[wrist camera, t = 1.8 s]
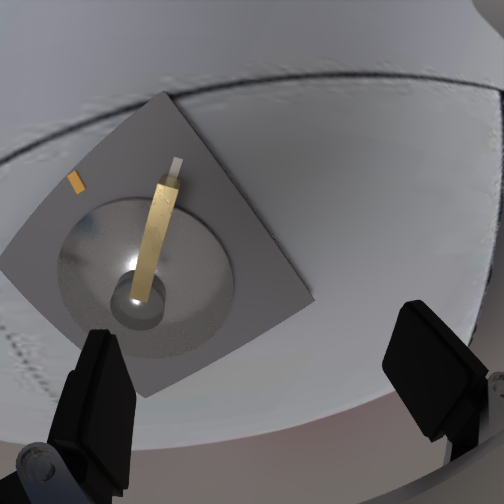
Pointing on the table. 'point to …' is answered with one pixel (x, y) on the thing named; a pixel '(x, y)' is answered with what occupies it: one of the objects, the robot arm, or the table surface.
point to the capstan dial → (146, 275)
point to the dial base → (188, 198)
